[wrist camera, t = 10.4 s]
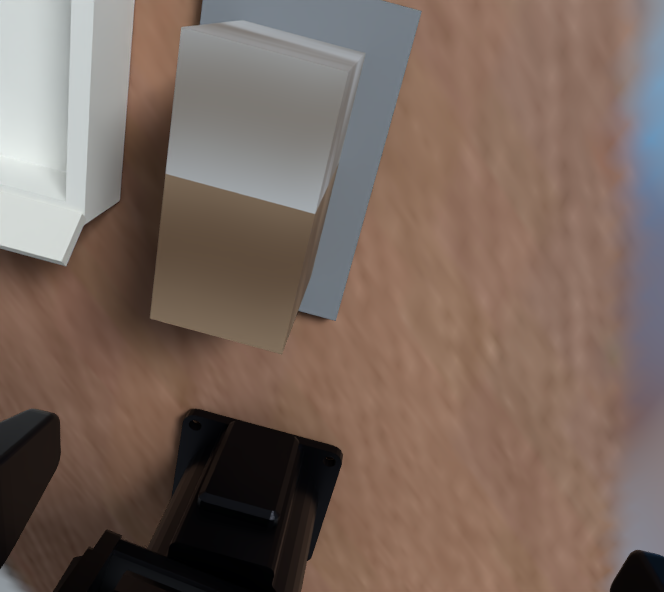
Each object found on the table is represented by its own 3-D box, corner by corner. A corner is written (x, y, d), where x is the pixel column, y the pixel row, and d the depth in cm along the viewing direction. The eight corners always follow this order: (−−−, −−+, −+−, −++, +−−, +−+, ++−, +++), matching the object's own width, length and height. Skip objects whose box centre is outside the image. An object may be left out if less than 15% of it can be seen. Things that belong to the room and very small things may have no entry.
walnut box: (311, 276, 20) (281, 354, 16) (208, 248, 20) (149, 318, 16) (366, 52, 17) (348, 72, 12) (242, 19, 17) (181, 27, 12)
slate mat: (337, 312, 21) (335, 320, 21) (175, 269, 21) (169, 275, 21) (421, 10, 17) (421, 11, 16) (214, -45, 17) (208, -46, 16)
